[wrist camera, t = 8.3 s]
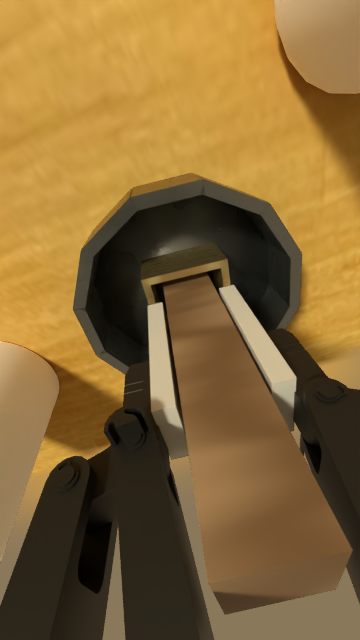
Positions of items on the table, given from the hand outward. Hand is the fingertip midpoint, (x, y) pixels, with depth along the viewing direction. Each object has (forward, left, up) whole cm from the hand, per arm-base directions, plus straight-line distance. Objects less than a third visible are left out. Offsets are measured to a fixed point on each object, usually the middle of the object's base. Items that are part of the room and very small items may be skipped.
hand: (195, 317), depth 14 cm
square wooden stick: (0, 0, -4) cm, 4 cm away
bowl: (0, 0, -5) cm, 5 cm away
